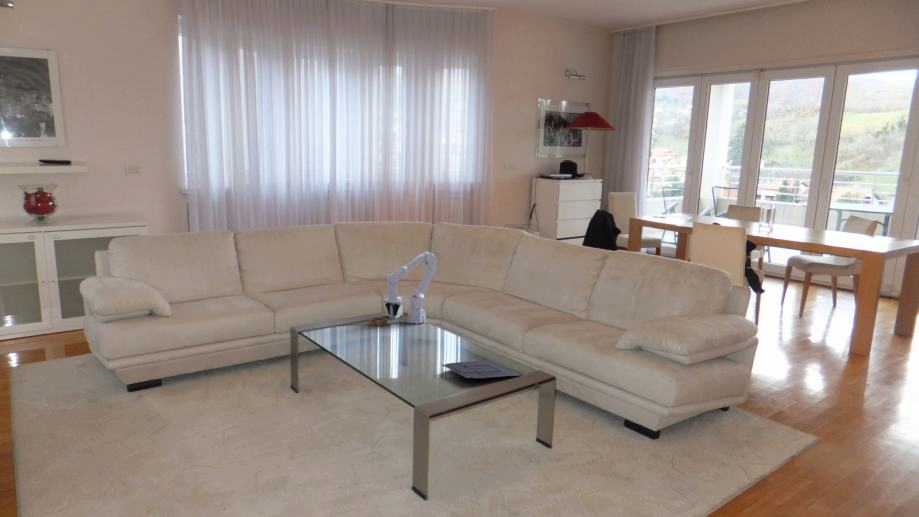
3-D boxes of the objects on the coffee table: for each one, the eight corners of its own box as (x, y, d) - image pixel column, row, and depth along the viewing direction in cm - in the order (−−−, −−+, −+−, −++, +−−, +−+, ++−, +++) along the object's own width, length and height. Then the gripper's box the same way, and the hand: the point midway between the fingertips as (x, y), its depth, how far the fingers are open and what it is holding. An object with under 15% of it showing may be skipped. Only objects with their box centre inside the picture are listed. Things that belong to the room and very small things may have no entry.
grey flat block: (437, 369, 268) (438, 361, 268) (489, 366, 285) (489, 359, 285) (468, 385, 248) (469, 377, 248) (521, 381, 266) (522, 373, 265)
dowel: (396, 319, 353) (396, 304, 352) (392, 320, 351) (392, 305, 349) (392, 318, 355) (392, 304, 354) (388, 319, 353) (388, 304, 351)
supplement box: (402, 316, 372) (403, 297, 370) (395, 318, 366) (395, 299, 364) (393, 314, 376) (393, 295, 374) (386, 317, 369) (386, 297, 368)
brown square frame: (387, 324, 351) (387, 318, 351) (378, 326, 345) (378, 320, 345) (378, 322, 356) (378, 316, 355) (369, 324, 349) (369, 318, 349)
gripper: (379, 292, 351) (379, 314, 353) (397, 295, 343) (397, 318, 345) (387, 291, 357) (387, 312, 359) (405, 294, 349) (405, 316, 351)
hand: (392, 315), depth 353 cm, fingers closed on dowel, 3 cm apart
